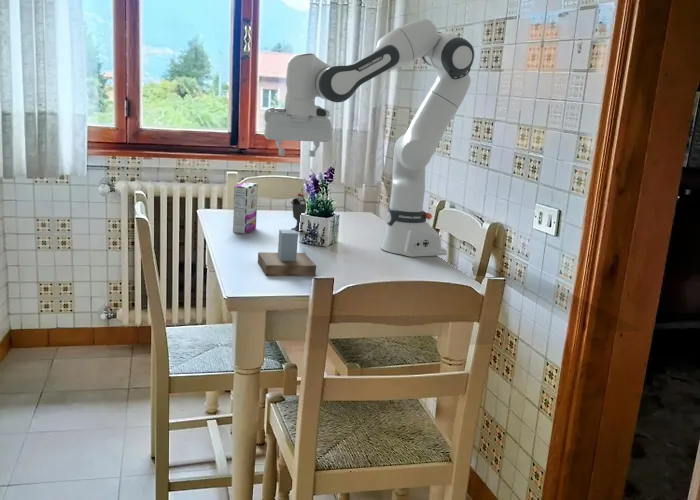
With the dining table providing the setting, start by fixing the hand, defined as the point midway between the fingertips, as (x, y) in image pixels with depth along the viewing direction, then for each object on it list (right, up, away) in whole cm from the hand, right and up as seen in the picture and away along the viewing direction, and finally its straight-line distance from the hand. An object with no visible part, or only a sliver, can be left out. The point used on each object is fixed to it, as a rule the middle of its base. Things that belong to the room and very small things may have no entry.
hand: (297, 155), depth 201 cm
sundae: (-3, -21, +42) cm, 47 cm away
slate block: (-2, -31, -11) cm, 33 cm away
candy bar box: (-21, -22, +33) cm, 45 cm away
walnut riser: (-2, -34, -11) cm, 36 cm away
